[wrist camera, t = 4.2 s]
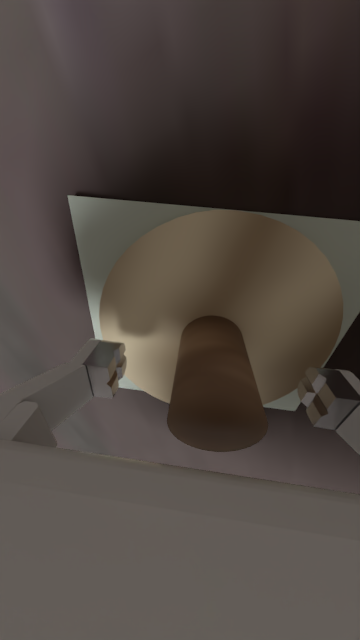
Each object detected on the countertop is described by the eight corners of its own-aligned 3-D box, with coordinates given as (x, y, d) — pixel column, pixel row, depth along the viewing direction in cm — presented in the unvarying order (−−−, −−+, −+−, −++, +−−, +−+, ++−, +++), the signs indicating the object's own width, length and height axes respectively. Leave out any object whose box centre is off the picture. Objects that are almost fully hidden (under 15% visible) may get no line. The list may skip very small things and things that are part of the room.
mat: (403, 225, 8) (415, 226, 7) (292, 404, 14) (295, 411, 14) (74, 195, 9) (67, 195, 8) (107, 380, 15) (104, 385, 14)
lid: (389, 225, 7) (698, 261, 3) (279, 410, 14) (318, 515, 9) (91, 195, 8) (-64, 184, 3) (117, 386, 14) (75, 474, 10)
